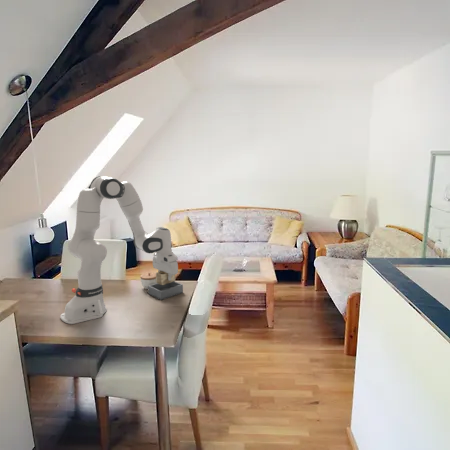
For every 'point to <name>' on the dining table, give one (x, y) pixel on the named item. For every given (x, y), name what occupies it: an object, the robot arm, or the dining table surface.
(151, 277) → the lidded jar
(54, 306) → the dining table surface
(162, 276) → the pine crate
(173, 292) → the grey crate
